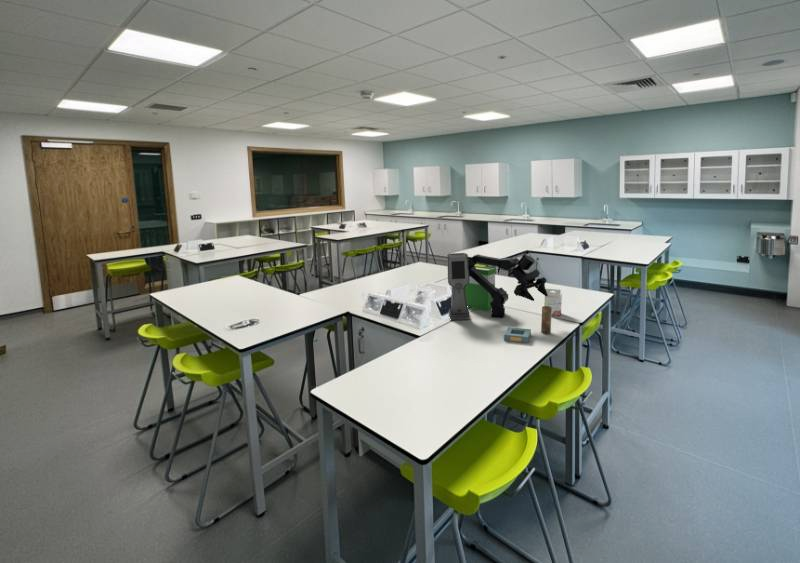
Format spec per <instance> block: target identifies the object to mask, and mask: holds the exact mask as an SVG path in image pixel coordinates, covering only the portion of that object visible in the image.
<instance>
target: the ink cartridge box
mask: <svg viewBox="0 0 800 563" xmlns="http://www.w3.org/2000/svg"><path fill="white" fill-rule="evenodd" d="M545 289H546V292H547V294H548V296H547V297H546V296H545V295H544V306H550V307H552V312H551V316H557V315H560V314H562V303H563V302H562V300H563V298H562V297H563V296H562V295H563V293H561V292H562V291H561V289H556V288H545ZM560 316H561V315H560Z"/></svg>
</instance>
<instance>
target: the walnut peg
mask: <svg viewBox="0 0 800 563" xmlns="http://www.w3.org/2000/svg"><path fill="white" fill-rule="evenodd" d="M551 312H552V307H550V306H542V307H541V323H540V324H541V325H540V327H541V328H540V333H541V334H542V333H543V334H542V335H551V332H552V315H551Z"/></svg>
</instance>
